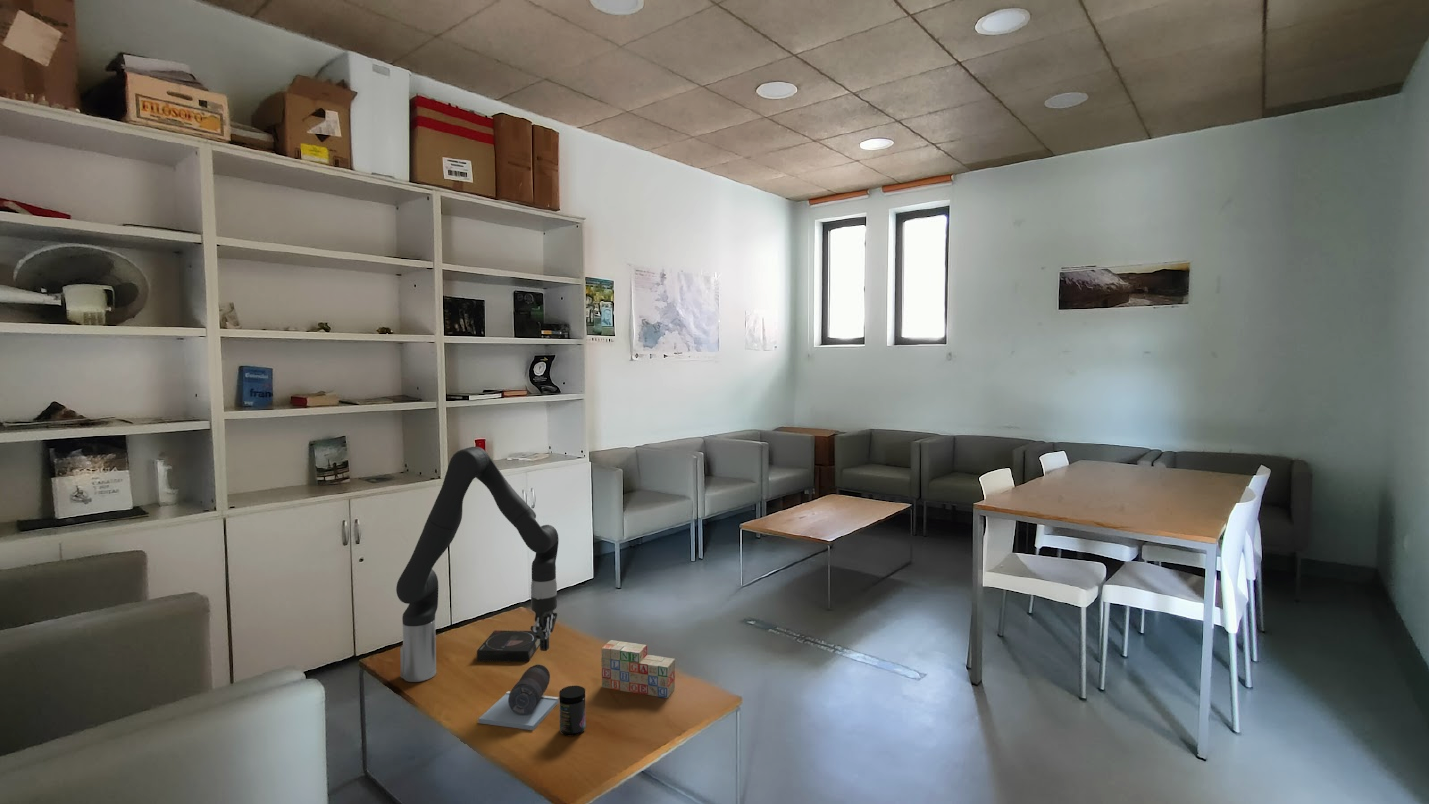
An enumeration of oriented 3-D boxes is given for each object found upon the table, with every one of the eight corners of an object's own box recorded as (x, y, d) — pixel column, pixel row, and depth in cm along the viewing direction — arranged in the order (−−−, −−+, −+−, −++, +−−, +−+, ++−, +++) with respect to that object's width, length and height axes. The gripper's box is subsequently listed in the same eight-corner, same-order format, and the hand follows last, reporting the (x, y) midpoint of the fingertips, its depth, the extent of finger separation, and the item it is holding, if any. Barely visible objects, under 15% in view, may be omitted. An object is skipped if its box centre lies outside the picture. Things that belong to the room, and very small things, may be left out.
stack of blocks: (675, 689, 199) (675, 648, 198) (667, 699, 193) (667, 657, 192) (610, 678, 206) (610, 639, 205) (601, 687, 200) (600, 647, 199)
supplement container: (579, 738, 172) (579, 699, 172) (555, 735, 173) (554, 696, 173) (589, 724, 179) (589, 686, 178) (565, 722, 180) (565, 684, 180)
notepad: (478, 723, 179) (478, 717, 179) (507, 696, 194) (507, 691, 194) (533, 730, 176) (533, 724, 176) (558, 702, 191) (558, 697, 190)
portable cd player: (529, 663, 217) (529, 651, 217) (477, 662, 217) (477, 650, 217) (543, 642, 233) (543, 631, 233) (494, 641, 233) (494, 630, 233)
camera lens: (548, 692, 196) (531, 719, 181) (522, 684, 196) (503, 710, 181) (556, 667, 195) (540, 692, 180) (529, 658, 195) (511, 682, 181)
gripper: (543, 585, 207) (543, 640, 208) (521, 599, 194) (522, 658, 195) (565, 587, 206) (565, 642, 206) (545, 601, 193) (545, 660, 194)
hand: (544, 649), depth 201 cm, fingers closed
